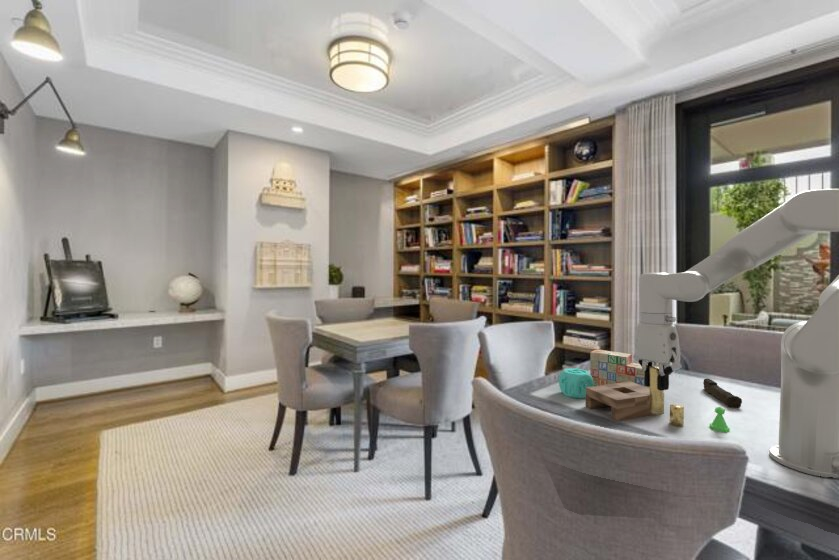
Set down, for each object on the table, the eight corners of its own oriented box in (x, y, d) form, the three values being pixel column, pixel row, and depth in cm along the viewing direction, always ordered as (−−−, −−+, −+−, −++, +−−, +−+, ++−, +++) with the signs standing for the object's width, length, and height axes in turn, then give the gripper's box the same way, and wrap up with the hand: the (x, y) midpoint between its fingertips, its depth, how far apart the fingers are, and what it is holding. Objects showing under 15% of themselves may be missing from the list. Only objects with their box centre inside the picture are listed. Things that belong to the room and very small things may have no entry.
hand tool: (742, 410, 118) (743, 395, 118) (726, 408, 119) (727, 393, 119) (713, 390, 136) (714, 377, 136) (700, 389, 137) (700, 376, 137)
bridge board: (663, 412, 115) (664, 393, 114) (616, 421, 109) (617, 400, 109) (629, 399, 126) (630, 381, 126) (585, 406, 120) (585, 387, 120)
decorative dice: (558, 392, 134) (558, 369, 133) (576, 389, 136) (576, 367, 136) (574, 399, 126) (575, 375, 126) (593, 396, 129) (594, 373, 128)
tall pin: (666, 413, 102) (666, 368, 102) (657, 415, 101) (657, 369, 101) (655, 409, 105) (655, 365, 105) (647, 411, 104) (646, 366, 104)
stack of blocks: (660, 394, 132) (661, 358, 131) (655, 398, 127) (655, 361, 127) (596, 380, 147) (596, 348, 147) (589, 384, 143) (590, 351, 142)
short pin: (686, 425, 106) (686, 407, 106) (677, 427, 105) (678, 409, 105) (675, 421, 109) (675, 403, 109) (666, 422, 108) (667, 405, 108)
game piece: (708, 428, 104) (708, 406, 104) (710, 424, 107) (711, 402, 107) (728, 433, 101) (728, 411, 100) (730, 428, 104) (731, 406, 103)
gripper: (696, 321, 96) (697, 394, 96) (639, 315, 111) (640, 378, 112) (674, 323, 93) (675, 399, 94) (619, 316, 109) (620, 381, 109)
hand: (656, 387), depth 103 cm, fingers closed on tall pin, 3 cm apart
